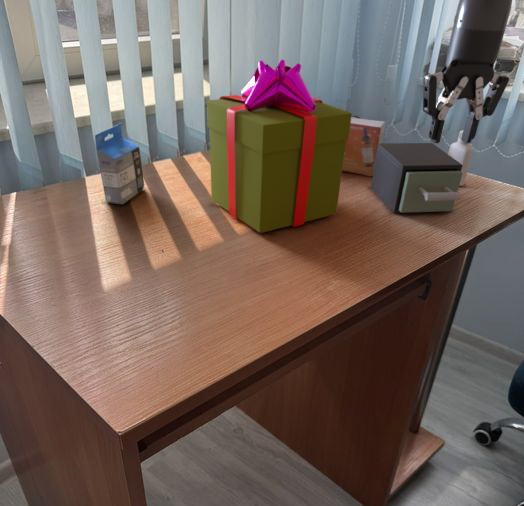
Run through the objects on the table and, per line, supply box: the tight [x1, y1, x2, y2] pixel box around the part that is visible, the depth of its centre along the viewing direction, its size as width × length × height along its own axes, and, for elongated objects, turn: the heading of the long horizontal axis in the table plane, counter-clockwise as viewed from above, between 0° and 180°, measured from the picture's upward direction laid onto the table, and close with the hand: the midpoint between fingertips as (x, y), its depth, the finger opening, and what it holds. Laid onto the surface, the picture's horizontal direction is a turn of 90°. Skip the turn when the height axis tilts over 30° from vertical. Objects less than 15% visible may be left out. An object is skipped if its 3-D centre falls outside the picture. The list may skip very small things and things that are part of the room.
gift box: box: [206, 59, 353, 234], centre depth 91 cm, size 21×21×25 cm
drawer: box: [399, 169, 463, 214], centre depth 99 cm, size 17×10×7 cm, turn 9°
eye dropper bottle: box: [447, 129, 474, 187], centre depth 111 cm, size 4×6×12 cm
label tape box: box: [94, 123, 146, 205], centre depth 98 cm, size 9×4×12 cm, turn 162°
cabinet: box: [370, 142, 463, 215], centre depth 103 cm, size 14×12×9 cm
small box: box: [342, 117, 386, 177], centre depth 115 cm, size 8×6×10 cm
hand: (450, 141), depth 88 cm, fingers open, 5 cm apart
